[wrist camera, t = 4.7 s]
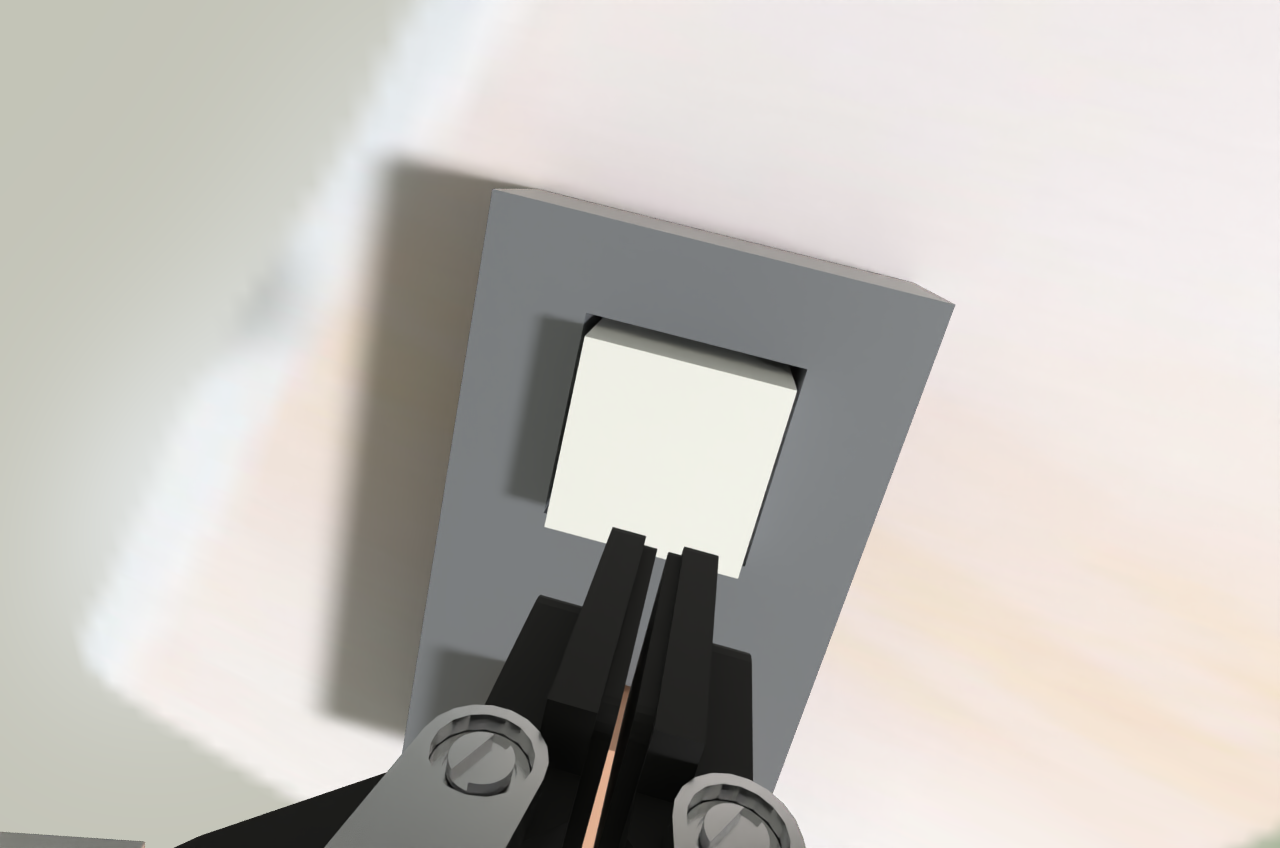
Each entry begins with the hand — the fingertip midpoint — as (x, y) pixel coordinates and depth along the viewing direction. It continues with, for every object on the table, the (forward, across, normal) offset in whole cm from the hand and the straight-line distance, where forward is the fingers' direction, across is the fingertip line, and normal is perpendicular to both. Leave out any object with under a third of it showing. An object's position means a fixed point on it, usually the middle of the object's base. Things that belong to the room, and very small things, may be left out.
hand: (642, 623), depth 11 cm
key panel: (+14, 0, +6) cm, 15 cm away
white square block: (+12, 0, +1) cm, 12 cm away
